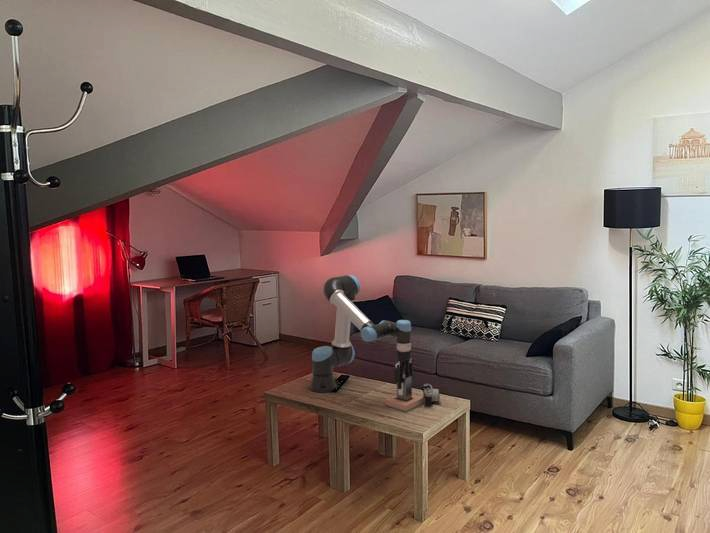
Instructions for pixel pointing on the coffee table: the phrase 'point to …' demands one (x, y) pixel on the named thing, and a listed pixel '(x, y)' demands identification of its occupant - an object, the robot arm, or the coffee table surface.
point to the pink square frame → (404, 403)
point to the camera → (430, 395)
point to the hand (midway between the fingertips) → (404, 393)
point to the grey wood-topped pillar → (406, 388)
